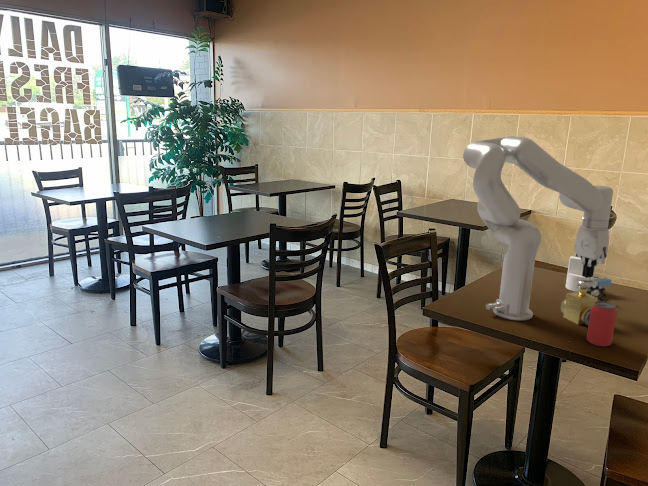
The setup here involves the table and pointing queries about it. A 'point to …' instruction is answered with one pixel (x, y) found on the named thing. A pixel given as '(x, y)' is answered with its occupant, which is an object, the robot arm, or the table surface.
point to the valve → (596, 290)
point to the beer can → (601, 323)
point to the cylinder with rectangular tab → (575, 274)
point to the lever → (594, 283)
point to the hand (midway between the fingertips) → (587, 276)
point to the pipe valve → (578, 306)
